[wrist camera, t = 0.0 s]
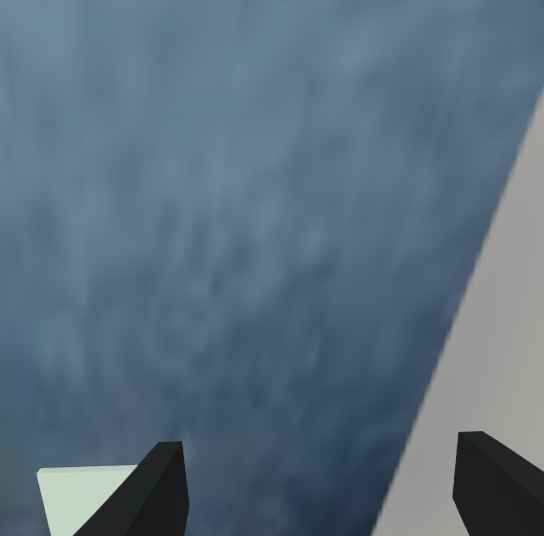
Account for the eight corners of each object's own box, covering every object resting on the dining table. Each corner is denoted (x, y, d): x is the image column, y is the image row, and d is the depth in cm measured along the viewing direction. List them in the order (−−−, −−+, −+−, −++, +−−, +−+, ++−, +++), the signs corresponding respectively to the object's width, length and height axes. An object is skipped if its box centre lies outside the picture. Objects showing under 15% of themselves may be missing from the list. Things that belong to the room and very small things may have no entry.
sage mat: (182, 565, 22) (181, 571, 22) (64, 568, 22) (60, 575, 22) (169, 464, 21) (167, 469, 20) (41, 468, 21) (36, 473, 20)
